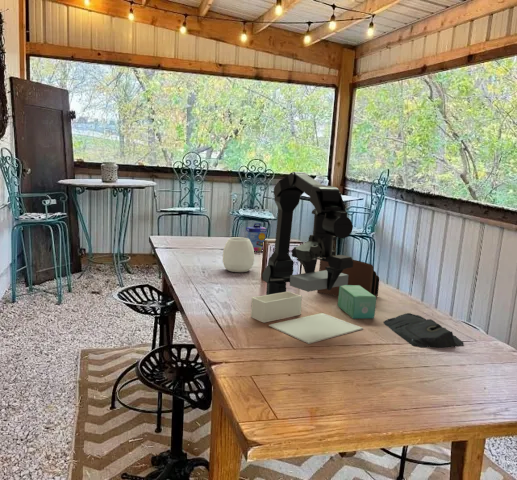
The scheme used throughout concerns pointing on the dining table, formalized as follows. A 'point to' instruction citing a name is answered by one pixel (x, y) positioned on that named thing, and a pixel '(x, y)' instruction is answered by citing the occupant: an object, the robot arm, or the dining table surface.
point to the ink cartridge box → (256, 236)
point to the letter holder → (356, 277)
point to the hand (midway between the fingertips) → (319, 286)
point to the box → (357, 302)
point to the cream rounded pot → (238, 254)
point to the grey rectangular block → (315, 280)
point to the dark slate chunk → (422, 332)
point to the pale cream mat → (315, 327)
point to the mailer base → (276, 306)
